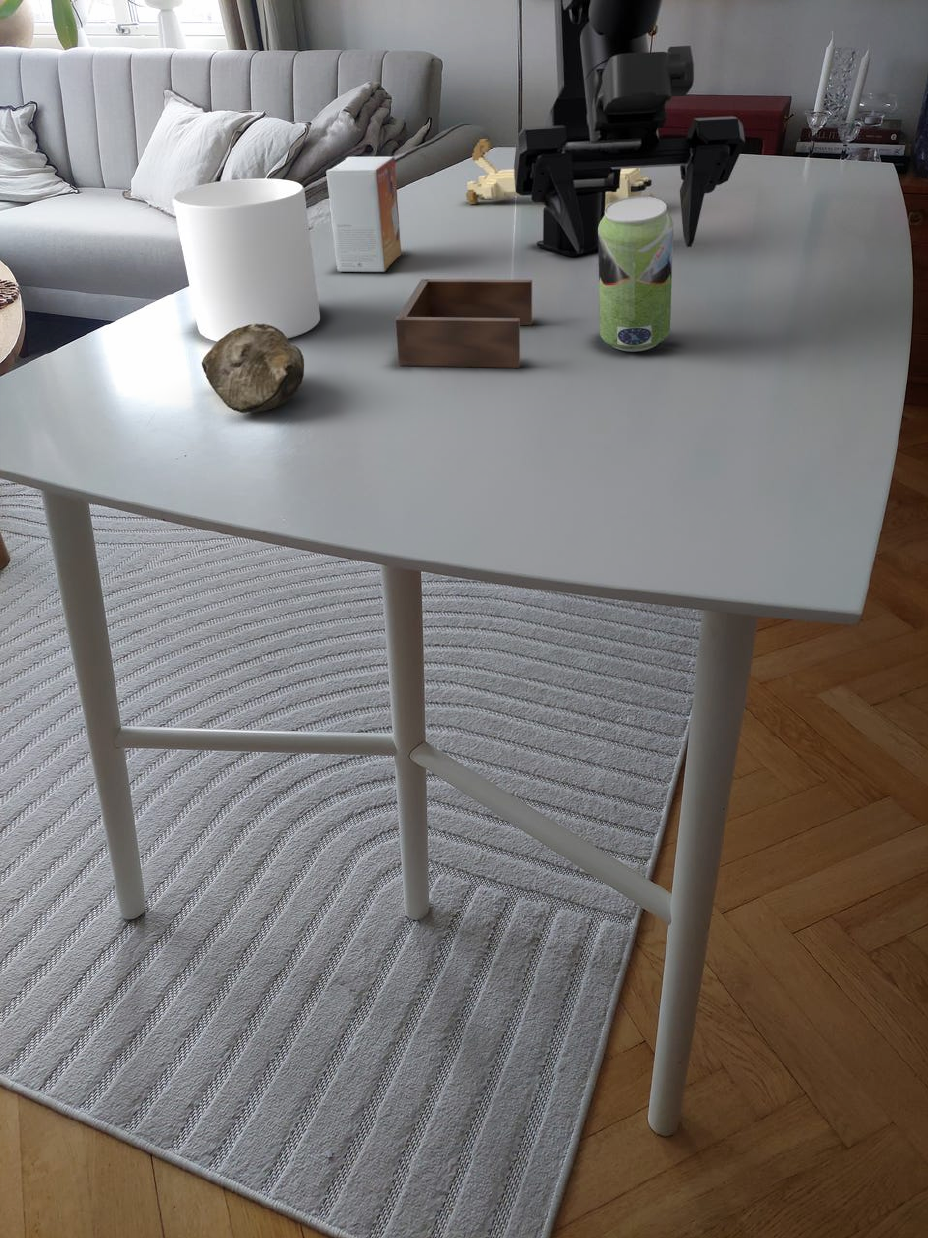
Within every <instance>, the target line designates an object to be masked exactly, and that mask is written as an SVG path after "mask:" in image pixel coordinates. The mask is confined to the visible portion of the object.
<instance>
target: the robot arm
mask: <svg viewBox="0 0 928 1238" xmlns="http://www.w3.org/2000/svg"><path fill="white" fill-rule="evenodd" d="M662 3H663V0H554V27H555V28H554V29H555V53H556V79H557V80H556V81H557V96H556V99H555V100H554V103H553V104H552V107H551V109H550V112H549V113H548V117H547V119H546V122H545V125H543V126H541V125H540V126H523V127H522V128H521V130H520V131H519V133H518V134H517V135H516V143H515V151H514V152H515V153H514V164H513V169H514V178H515V190H516V193H518V194H520V196H521V197H522V196H530V199H531V201H532V202H533V203H541V204H542V205H544V207H543V211H542V212H543V213H542V214H543V216H542V217H543V218H542V221H543V222H542V224H543V225H542V239H541V240H538V241H536V247H538V248H542V249H545V250H548V251H551V252H554V253H558V254H561V255H563V256H564V255H565V256H568V257H576V256H580V255H585V254H589V253H592V252H593V253H594V252H597V251H599V250H598V227H599V224H600V222H601V220H602V218H603V217H604V215H605V201H606V192H617V189H619V187H620V173H621V169H630V168H638V169H646V168H648V169H649V168H664V167H667V168H668V167H679V170H680V179H681V181H682V182H681V183H682V184H681V186H680V189H679V195H680V196H679V199H680V200H679V201H680V211H681V223H682V224H681V225H682V234H683V239H684V243H685V247H686V248H691V247H693V245H694V242H695V238H696V233H697V229H698V225H699V220H700V217H701V212H702V211H701V210H702V207H703V202H704V197H705V194H710V193H713V192H714V191H715V190H716V188H717V186H721V185H722V184H724V183H726V182H728V181H729V179H730V177H731V175H732V172H733V171H734V168H735V166H736V164H737V161H738V159H739V157H740V155H741V152H742V151H743V148H744V146H745V144H746V138H745V132H744V125H743V123H742V122H741V121H740V119H739V118H738V117H736V116H733V115H732V116H730V115H729V116H711V117H695V118H694V117H693V119H692V122H691V124H690V126H689V127H690V128H689V130H688V134H687V135H686V137H685V138H683V137H681V138H663V139H660V138H659V130H658V129H662V128H664V127H665V124H666V122H667V121H666V120H667V110H666V104H667V102H669V101H671V99H672V97H685V96H686V95H688V93H689V92H690V90H691V89H692V88H693V85H694V83H695V81H694V80H695V63H694V57H693V51H692V46H691V45H680V46H679V45H678V46H677V45H676V46H669V47H668V48H667V51H649V43H648V35H647V34H651V33H653V31H654V30H655V27H656V25H657V22H658V19H659V15H660V11H661V8H662Z"/></svg>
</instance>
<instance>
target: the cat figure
mask: <svg viewBox="0 0 928 1238" xmlns="http://www.w3.org/2000/svg"><path fill="white" fill-rule="evenodd" d="M491 149H492V145H491V140H489V139H488V138H482V139H479V140H478V142H477V144H475V147H473V152H472V153H471V156H472V161H474V163H475V164H477V165H476V166H479V168H483V170H484V171H485V173H487V175H480V176H478V182H477V180H471V181H468V182H466V187H467V192H466V193H465V196H466V201H468V204H469V205H476V204H478V203H479V199H478V198H480V199H484V200H496V199H498V200H499V199H507V198H509V197H511V196H512V197H513V196H515V197H516V196H517V197H519V196H521V195H520V194H518V193H516V190H515V178H514V168H512V169H501V170H499V171H498V168H497V167H495V165H493V163H491V160H490V161H489V159H488V158H487V157H486V156H485V155H486V153H489V152H490V150H491ZM642 172H643V171H642V170H641V169H640V168H630V169H621V173H620V187H619V189H617V192H606V201H605V209H606V207H607V206H608V205H609V204H611V203H613V202H615V201H618V200H621V199H625V198H630V197H651V198H652V197H655V196H656V193H654V192H653V193H649V195H644V196H642V194H643V191H645V190H647V188H648V187H652V183H653V182H652V179H650V177H649V176H643V175H642Z"/></svg>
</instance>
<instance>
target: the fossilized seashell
mask: <svg viewBox="0 0 928 1238" xmlns="http://www.w3.org/2000/svg"><path fill="white" fill-rule="evenodd" d="M201 366H202V367H201V368H202V369H203V373H204V374H205V377H206V379H207V382H208V384H209V385H210V386H211V388H212V389H213V391H214V392H215V394H216V395H218V397H219V398H220V399H221V400H222V401H223V403H224V405H226V406H227V407H228V408H229V409H231V410H233V411H234V412H238V413H241V414H248V413H257V412H267V411H269V410H273V409H276V408H278V407H280V406H282V405H283V404H284V403H286V402H287V401H289V400H290V399H291V398H292V397H293V396H294V395H295V393H297V391H298V389H299V387H300V386H301V384H302V383H303V379H304V377H305V376H304V375H305V358H304V355H303V353H302V351H301V350H300V349H299V347H298V346H296V345H293V344H292V343H290V341H289V339H287V337H286V336H285V335H284V333H283V332H282V331H280V330H279V329H277V328H275V327H273V326H271V325H267V324H250V325H247V326H244V327H241V328H237V329H235V330H233V331H231V332H230V333H228V334H227V335H225V336H224V337H223V338H222V339H220V340H219V341H218V342H215V344H214V345H213V346H212V347H211V349H210V350H209V351H208V352H207V353H206V354H205V355H204V357H203V358H202V361H201Z"/></svg>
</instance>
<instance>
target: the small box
mask: <svg viewBox="0 0 928 1238" xmlns="http://www.w3.org/2000/svg"><path fill="white" fill-rule="evenodd" d="M396 170H397V169H396V158H395V156H347V157H346V158H345V159H344V160H343V161H341V162H340V163H338V164H336V165H335V166H333V167H332V168H330V169H327V170H326V171H325V174H326V181H327V191H328V198H329V199H328V200H329V208H330V210H329V211H330V218H331V226H332V227H331V228H332V235H333V236H332V237H333V244H334V252H335V253H334V254H335V261H336V268H337V272H339V273H341V272H344V273H345V272H346V273H348V272H349V273H350V272H353V273H360V272H361V273H385V272H386V271H387V269H388V268H389V267H390V265H392V264H393V263H394V261H396V260H397V259H398V258H399V257H401V256H402V244H401V243H402V242H401V231H400V230H401V228H400V214H399V201H398V186H397V171H396Z"/></svg>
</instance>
